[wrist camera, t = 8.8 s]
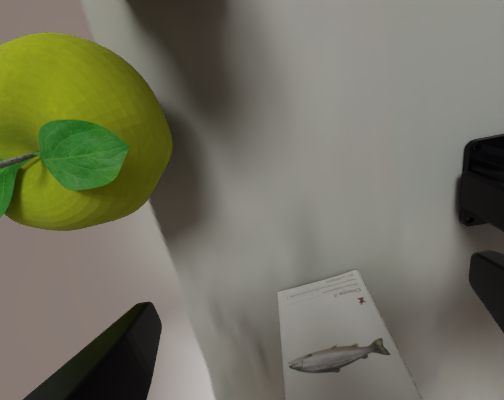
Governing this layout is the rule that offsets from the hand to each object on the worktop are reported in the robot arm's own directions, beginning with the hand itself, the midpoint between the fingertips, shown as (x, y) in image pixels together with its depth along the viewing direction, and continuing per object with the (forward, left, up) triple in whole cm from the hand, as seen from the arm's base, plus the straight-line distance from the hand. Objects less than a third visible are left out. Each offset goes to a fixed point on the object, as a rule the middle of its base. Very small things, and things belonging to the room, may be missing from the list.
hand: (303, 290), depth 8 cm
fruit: (+10, -5, -13) cm, 17 cm away
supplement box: (-2, +14, -13) cm, 19 cm away
